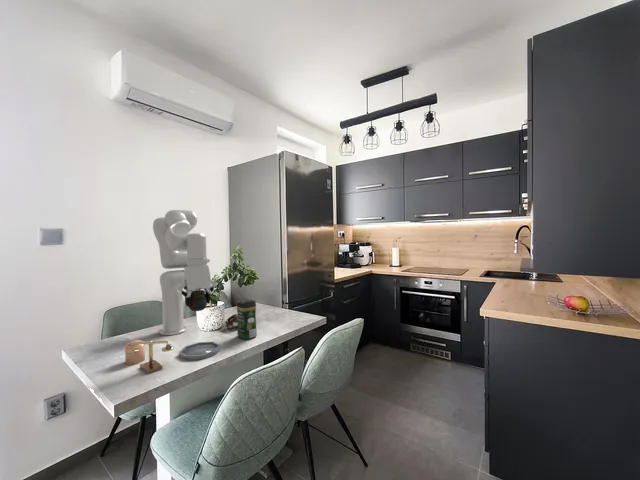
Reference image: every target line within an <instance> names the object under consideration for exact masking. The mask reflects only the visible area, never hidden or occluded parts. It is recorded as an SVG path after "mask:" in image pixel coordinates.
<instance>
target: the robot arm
mask: <svg viewBox="0 0 640 480" xmlns="http://www.w3.org/2000/svg"><path fill="white" fill-rule="evenodd" d="M197 223H198V217H197V214H196V212H194V211H192V210H186V209H185V210H183V209H182V210H181V209H173V210H169V211H167V212H166V213H165V215H164V217H158V218H155V219H154V220H153V223H152V231H153V234H154V237H155V239H156V241H157V243H158V248H159V255H160V263H161V267H162V268H163V269H166V270H167V269H168V270H169V271H165V272H163V273H161V275H160V276H159V284H160V290H161V302H162V303H161V305H162V307H161V308H162V329H160V330H159V335H161V336H174V335H179V334H182V333H185V332H187V330H188V328H187V326H186V325H184V303H185V306H186V307H188V308H189V307H191V297H190V294H191V292H192V291H195V290H199V289H200V288H201V289H200V290H204V291H205V296H206V299H207V304H210V301H211V294H212V292H213V291H214V289H215V288H216V287H217V282H216V281H214V280H212V279H211V271H210V267H209V265H208V263H210V259H209V258H207V236H206V234H205V233H190V232H191V231H192V230H193V229H194V228H195V227H196V226H197ZM172 269H174V270H172ZM176 269H177V270H176ZM178 269H180V270H178ZM184 299H185V300H184ZM184 301H185V302H184Z"/></svg>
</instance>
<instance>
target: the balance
mask: <svg viewBox="0 0 640 480" xmlns="http://www.w3.org/2000/svg"><path fill="white" fill-rule="evenodd" d="M136 344H145V345H148V361H147V362H143V363H139V368H140V369H141V370H142V371H143V372H144V373H146V374H147V375H149V374H153V373H155V372H158V371H161V370H163V365H162V364H161V363H159V361H157V360H155V359H154V350H153V348H154V346H153V345H158V344H166V345H165V346H164V347H162V348H161V351H162V352H165V353H166V352H170V351H173V350H174V346H173V345H172V344H171V343H170V344H169V340H149V341H144V342H132V348H131V349H128V350H126V354H132V353H136V352H138V351H139V348H133V345H136Z"/></svg>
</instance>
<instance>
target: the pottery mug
mask: <svg viewBox="0 0 640 480" xmlns="http://www.w3.org/2000/svg"><path fill="white" fill-rule="evenodd" d="M224 323H225V328H227V329H229V328H230V327H234V323H235V324H236V323H237V324H238V320H237V314H236V313H235V314H232V315H231V316H229V317H228V318H227V319H226V320H225V321H224Z"/></svg>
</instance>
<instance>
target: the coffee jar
mask: <svg viewBox="0 0 640 480" xmlns="http://www.w3.org/2000/svg"><path fill="white" fill-rule="evenodd" d="M236 310H237V311H236V312H237V320H238V323H237V328H236V329H237V331H236V332H237V336H238V337H239V338H240V339H242V340H251V339H254V338H255V337H257V335H258V334H257V333H258V332H257V316H256V314H257V311H256V310H257V302H256V300H254V299H251V298H248V297H243V298H239V299H237V300H236Z"/></svg>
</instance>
